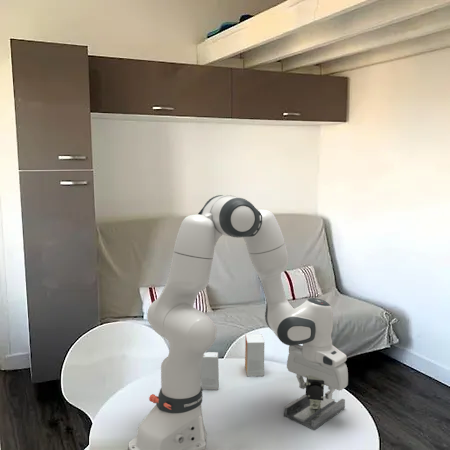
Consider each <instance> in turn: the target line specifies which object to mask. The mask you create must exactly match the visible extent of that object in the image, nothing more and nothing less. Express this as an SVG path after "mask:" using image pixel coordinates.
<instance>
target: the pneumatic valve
mask: <svg viewBox="0 0 450 450" xmlns="http://www.w3.org/2000/svg"><path fill="white" fill-rule="evenodd" d="M306 377H308V375H306ZM305 382H306V388H305V394H306V396H308V399H310V407H309V408H310V409H312V408H313V409H318V410H320V409H321V400H322V401H323V397H324V396H325V392H324V388H325V385H324V381H323V380H320V379H318V378H315V377H313V376H310V375H309V377H308V378H306V380H305Z"/></svg>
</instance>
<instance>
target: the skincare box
mask: <svg viewBox="0 0 450 450" xmlns="http://www.w3.org/2000/svg"><path fill="white" fill-rule="evenodd" d="M219 370H220V369H219V352H218V351H217V352H215V351H213V352H211V351H208V352H207V351H205V353H204V355H203V358H202V363H201V387H202V391H203V390H207V391H209V390H212V391H213V390H215V391H216V390H219V387H220V379H219V377H220V376H219V374H220V373H219Z"/></svg>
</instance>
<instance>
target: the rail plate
mask: <svg viewBox="0 0 450 450" xmlns="http://www.w3.org/2000/svg"><path fill="white" fill-rule="evenodd" d="M309 407H310V399H308V396H306V393H305V394H303V395H301V396H300V397H299V398H297V399H295V400H293V401H292V402H290V403H288V404H287V405H285V406H284V407H283V417H285V418H287V419H289V420H291V421H293V422H296V423H298V424H300V425H302V426H304V427H307V428H309V429H311V430H313V431H316V430H317V429H318V428H320V427H321V426H322V425H324V424H325V423H326V422H328V421H329V420H330V419H333V418H334V417H335V416H336V415H338V414H339V413H341V412H342V411H343V410H344V408H345V407H346V399H344V398H341V399H340V400H338V401H337V402H336V401H335V399H334V398H332V399H330V400H329V399H326V398H325V395H323V401H322V400H321V409H320V410H318V409H313V408H312V409H310V408H309ZM341 410H342V411H341ZM340 411H341V412H340ZM337 413H338V414H337Z"/></svg>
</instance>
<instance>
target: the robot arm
mask: <svg viewBox="0 0 450 450" xmlns="http://www.w3.org/2000/svg"><path fill="white" fill-rule="evenodd" d="M223 235H224V236H228V237H232V238H242V239H243V240H244V242H245V243H246V244H245V245H246V249H247V253H248V256H249V258H250V261H251V264H252V266H253V269H254V270H255V272H256V273H257V275H258V277H259V279H260V283H261V286H262V289H263V294H264V299H265V302H266V304H265V305H266V306H265V311H264V321H265V322H266V323H265V324H266V325H267V327H268V328H269V329H270V330H271V331H272V332H273V333H274V334H275V336H276V337H277V338H278V340H279V341H280V342H281V343H282V344H284V345H286V346H288V355H287V361H286V368H287V370H288V372H290V373H293V374H295V375H296V379H297V381H298V384H299V388H300V389H302V390H306V381H305V379H307V378H308V377H309V375H310V376H313V377H315V378H318V379H320V380H323V381H324V386H327V389H328V390H329V391H327V392H324V396H325V398H326V399H329V400H330V399H333V393H334V392H335V391H336V390H337V391H342V390H344V389H345V388H346V387H347V386H348V385H349V372H348V371H349V370H348V367H347V363H346V361H347V360H348V359H347V354H346V353H344V352H343V351H341V350H339V349H338V348H337V347H336V346H334V345H333V339H332V333H333V329H334V327H333V325H334V318H333V315H334V314H333V308H332V306H331V304H330V303H329V302H327V301H326V300H324V299H321V298H318V297H317V298H316V297H309V298H307V299H306V300H305V301H304V302H303V303H301V304H300V305H299V306H297V307H294V306H293V304H292V303H290V301H289V300H288V299H287V296H286V292H285V289H284V285H283V284H284V283H283V280H282V273H283V272H284V271H285V270H286V268H287V267H288V265H289V253H288V248H287V244H286V240H285V237H284V234H283V232H282V229H281V226H280V224H279V221H278V220H277V218H276V216H275V214H274V213H273V212H272V211H271V210H268V209H264V208H259V209H258V208H256V207H255V205H254V204H252V202H251V201H249V200H247V199H246V198H242V197H238V196H235V195H231V194H230V195H228V194H226V195H225V194H224V195H223V194H217V195H216V196H213V197H211V198H209V199H208V200H207V201H206V203H205V204H204V206H203V207H202V208H201V210H199V212H198V213H197V214H190V215H187V216H185V218H184V219H183V220H182V221H181V224H180V226H179V229H178V232H177V236H176V237H175V242H174V247H173V252H172V255H171V256H172V257H171V262H170V267H169V271H168V272H169V273H168V276H167V279H166V281H165V282H166V283H165V285H164V288H163V289H162V292H161V293H160V295H159V296H158V297H157V298H156V299H155V300H154V301H152V302H151V304H150V306H149V307H148V310H147V315H146V316H147V317H146V318H147V322H148V324H149V325H150V326H151V328H152V329H153V330H154V331H155V333H156V334H158V335H160V336H161V337H162V338H164V339H166V340H167V341H168V343H169V351H168V356H166V358H164V359H163V360H162V362H161V365H160V366H161V367H160V380H161V381H160V383H161V384H160V385H161V388H160V389H159V391H158V392H159V393H158V396H157V395H156V394H153V393H152V394H150V395H149V397H148V399H149V402H151V403H153V404H155V405H154V407H153V408H152V409H151V410H150V411H149V413H148V414H147V415H146V416H145V418H143V419H142V421H141V422H140V423H139V424H138V427H137V428H138V429H137V432H136V437H134V438H133V439H132V440H130V441H129V442H128V446H127V447H128V450H205V449H207V444H206V443H207V442H206V439H207V435H208V434H207V430H206V427H205V424H204V418H203V417H204V416H203V409H202V403H203V389H202V387H201V363H202V358H203V355H204V353H205V352H207V351H209V349H211V348H212V346H213V345H214V343H215V342H216V339H217V333H218V332H217V331H218V329H217V326H216V323H215V322H214V321H213V320H212V319H211V318H210V317H209V315H207V314H206V312H204V311H201V310H199V309H197V308H196V307H194V305H195V301H196V299H197V297H198V295H199V293H200V292H201V291H203V290H205V289H206V288H207V287H208V285H209V282H210V281H209V280H210V278H211V277H210V276H211V272H212V271H211V270H212V265H213V260H214V254H215V248H216V245H217V242H218V241H219V239H220V237H221V236H223ZM306 375H308V377H306ZM304 378H305V379H304Z"/></svg>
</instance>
